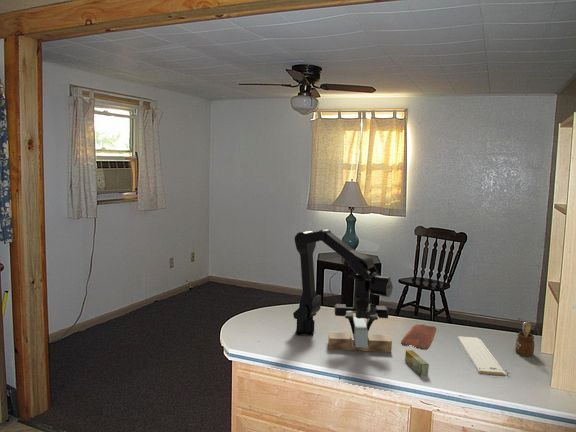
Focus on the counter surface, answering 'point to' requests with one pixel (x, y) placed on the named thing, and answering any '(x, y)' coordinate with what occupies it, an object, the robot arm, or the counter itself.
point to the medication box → (417, 363)
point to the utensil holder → (525, 342)
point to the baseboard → (481, 356)
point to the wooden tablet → (419, 336)
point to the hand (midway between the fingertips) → (359, 334)
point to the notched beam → (346, 343)
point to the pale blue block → (360, 332)
